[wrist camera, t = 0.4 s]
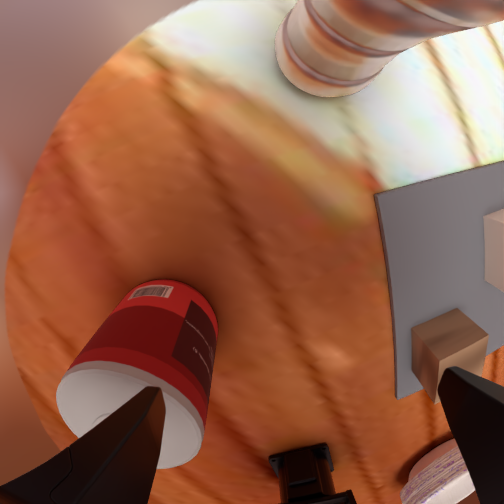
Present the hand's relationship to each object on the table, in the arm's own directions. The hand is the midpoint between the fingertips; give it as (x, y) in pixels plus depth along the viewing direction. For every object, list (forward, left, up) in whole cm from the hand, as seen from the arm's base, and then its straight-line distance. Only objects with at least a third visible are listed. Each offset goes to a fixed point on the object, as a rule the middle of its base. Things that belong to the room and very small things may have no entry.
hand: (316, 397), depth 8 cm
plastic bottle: (+12, -7, -14) cm, 20 cm away
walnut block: (-12, -12, -13) cm, 21 cm away
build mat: (-8, -17, -14) cm, 23 cm away
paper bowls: (-38, -16, -14) cm, 43 cm away
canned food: (-3, +9, -14) cm, 17 cm away
